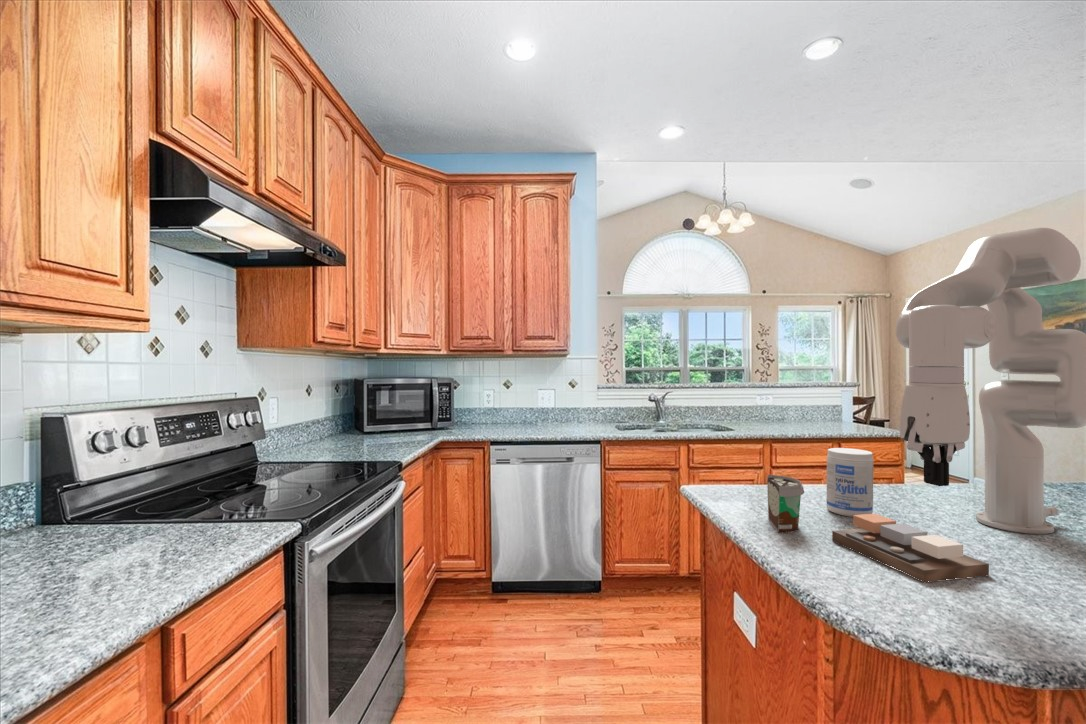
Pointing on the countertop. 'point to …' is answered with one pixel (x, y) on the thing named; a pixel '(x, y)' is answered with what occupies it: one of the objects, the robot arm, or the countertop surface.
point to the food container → (784, 502)
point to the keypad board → (909, 557)
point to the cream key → (937, 546)
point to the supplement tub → (849, 481)
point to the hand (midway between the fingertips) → (936, 484)
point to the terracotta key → (871, 522)
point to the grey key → (901, 533)
